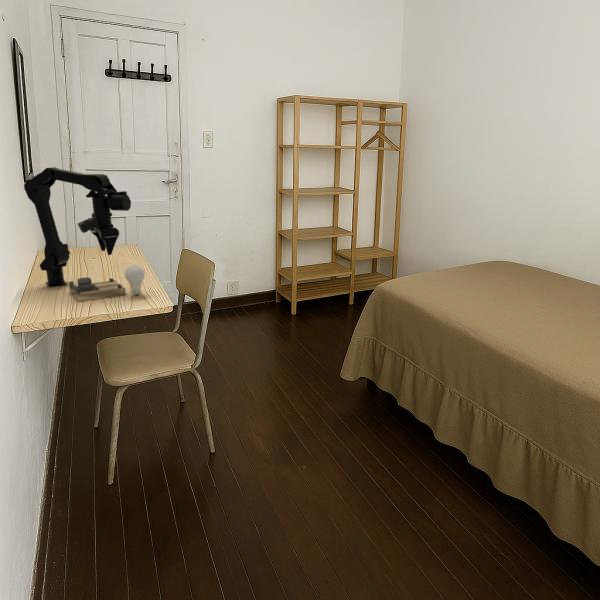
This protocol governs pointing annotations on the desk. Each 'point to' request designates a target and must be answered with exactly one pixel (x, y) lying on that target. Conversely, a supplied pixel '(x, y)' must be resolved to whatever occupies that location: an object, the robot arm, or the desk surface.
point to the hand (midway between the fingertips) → (106, 252)
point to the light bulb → (135, 278)
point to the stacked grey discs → (84, 284)
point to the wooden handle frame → (98, 290)
